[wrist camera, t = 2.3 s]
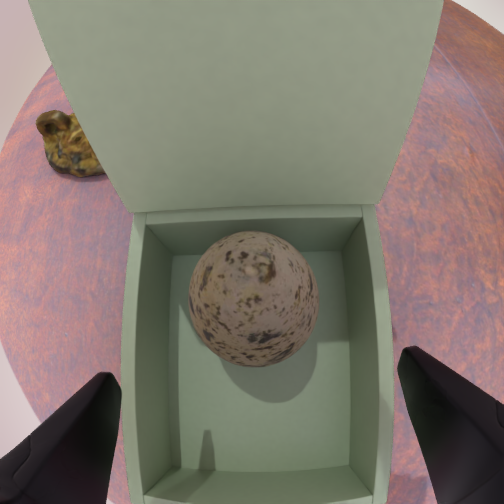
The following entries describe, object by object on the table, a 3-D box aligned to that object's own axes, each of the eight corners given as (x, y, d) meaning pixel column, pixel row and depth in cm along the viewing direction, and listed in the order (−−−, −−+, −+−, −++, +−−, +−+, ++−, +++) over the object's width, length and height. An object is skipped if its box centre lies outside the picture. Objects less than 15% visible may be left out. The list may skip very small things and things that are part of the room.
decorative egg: (239, 252, 19) (213, 154, 10) (323, 295, 18) (378, 229, 9) (191, 333, 18) (111, 305, 8) (277, 382, 16) (289, 414, 7)
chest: (356, 468, 15) (386, 503, 9) (165, 470, 15) (130, 503, 10) (348, 243, 20) (374, 203, 14) (166, 249, 20) (133, 211, 15)
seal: (181, 109, 27) (68, 118, 28) (173, 70, 22) (53, 89, 24) (148, 180, 22) (29, 179, 24) (130, 138, 18) (6, 150, 20)
